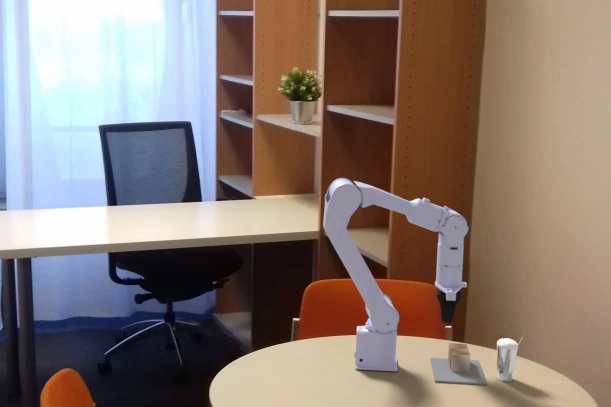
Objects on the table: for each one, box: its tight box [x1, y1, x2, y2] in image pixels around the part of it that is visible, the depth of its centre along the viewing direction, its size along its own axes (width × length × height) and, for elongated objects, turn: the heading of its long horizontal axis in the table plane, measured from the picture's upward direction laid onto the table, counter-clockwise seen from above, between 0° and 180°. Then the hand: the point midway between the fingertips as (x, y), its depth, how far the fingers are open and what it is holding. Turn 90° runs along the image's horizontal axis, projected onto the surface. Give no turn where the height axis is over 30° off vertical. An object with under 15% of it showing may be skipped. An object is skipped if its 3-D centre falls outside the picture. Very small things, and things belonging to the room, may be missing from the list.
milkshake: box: [496, 336, 523, 383], centre depth 161 cm, size 4×5×10 cm
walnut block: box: [447, 342, 471, 372], centre depth 167 cm, size 4×4×7 cm
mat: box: [430, 357, 488, 386], centre depth 165 cm, size 11×13×1 cm
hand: (446, 321), depth 167 cm, fingers closed
